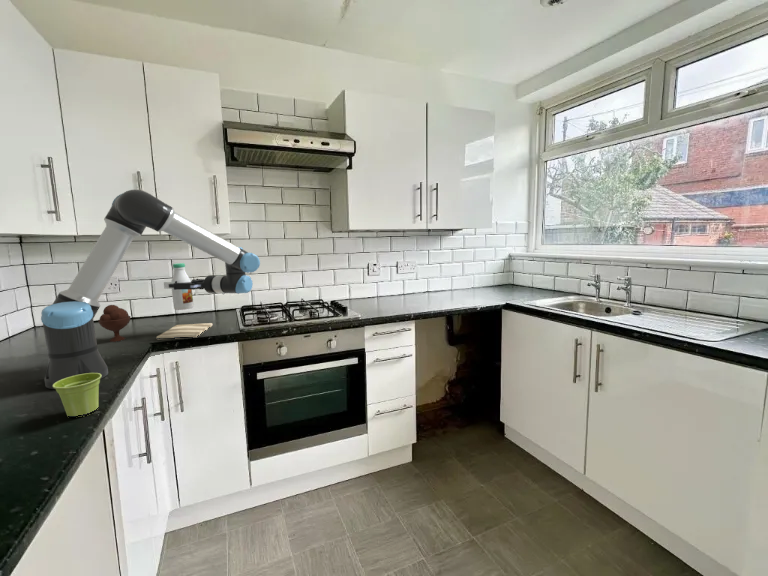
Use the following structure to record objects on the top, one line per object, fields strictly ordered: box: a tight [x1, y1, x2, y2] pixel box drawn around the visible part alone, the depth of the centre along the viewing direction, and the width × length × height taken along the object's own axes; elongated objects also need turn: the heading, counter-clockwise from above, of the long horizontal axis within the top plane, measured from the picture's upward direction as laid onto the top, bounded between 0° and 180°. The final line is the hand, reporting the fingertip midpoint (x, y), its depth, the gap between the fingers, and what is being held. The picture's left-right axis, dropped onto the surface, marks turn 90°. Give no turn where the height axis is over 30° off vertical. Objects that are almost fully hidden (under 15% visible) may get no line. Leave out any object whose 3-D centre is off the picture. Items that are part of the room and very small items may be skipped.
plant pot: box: [53, 373, 102, 417], centre depth 93 cm, size 9×9×9 cm
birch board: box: [156, 322, 213, 339], centre depth 168 cm, size 20×16×1 cm
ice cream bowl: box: [97, 304, 131, 343], centre depth 157 cm, size 11×11×15 cm
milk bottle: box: [170, 262, 194, 311], centre depth 165 cm, size 8×8×20 cm
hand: (171, 283), depth 166 cm, fingers closed on milk bottle, 7 cm apart
